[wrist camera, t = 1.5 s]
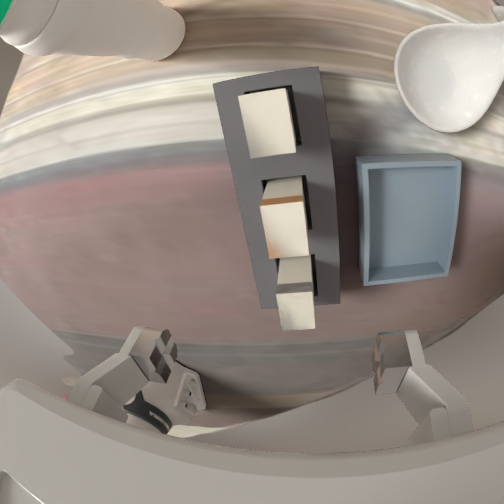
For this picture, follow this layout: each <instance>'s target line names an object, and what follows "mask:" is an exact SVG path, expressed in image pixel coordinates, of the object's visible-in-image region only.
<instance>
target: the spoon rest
mask: <svg viewBox="0 0 504 504" xmlns="http://www.w3.org/2000/svg"><path fill="white" fill-rule="evenodd" d="M492 10H493V12H494V14H495V16H496V18H497V19H498V21H499V22H496V23H491V24H472V23H440V24H432V25H428V26H424V27H421V28H418V29H416V30H414V31H412V32H411V33H409V34H408V35H407V36H406V37H405V38H404V39H403V40H402V41H401V43H400V44H399V46H398V49H397V51H396V54H395V58H394V78H395V82H396V86H397V89H398V91H399V93H400V96H401V98H402V99H403V101H404V103H405V104H406V106H407V107H408V109H409V110H410V111H411V113H412V114H413V115H414V116H415V117H416V118H417V119H418V120H419V121H421V122H422V123H423V124H425V125H426V126H428V127H430V128H431V129H433V130H436V131H439V132H444V133H454V132H459V131H462V130H465V129H467V128H469V127H471V126H472V125H474V124H475V123H476V122H477V121H478V120H479V119H480V118H481V117H482V116H483V115H484V113H485V112H486V111H487V109H488V108H489V106H490V105H491V103H492V101H493V99H494V98H495V96H496V94H497V92H498V90H499V88H500V86H501V84H502V82H503V81H504V6H493V7H492Z"/></svg>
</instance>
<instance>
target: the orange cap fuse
mask: <svg viewBox="0 0 504 504" xmlns="http://www.w3.org/2000/svg"><path fill="white" fill-rule="evenodd" d="M260 210H261V216H262V221H263V226H264V232H265V237H266V242H267V248H268V253H269V259H274V258H285V257H297V256H308V255H309V245H308V228H307V214H306V205H305V197H304V190H303V182H302V175H300V176H291V177H282V178H274V179H268V182H267V185H266V188H265V191H264V194H263V198H262V201H261V204H260Z"/></svg>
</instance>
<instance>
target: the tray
mask: <svg viewBox="0 0 504 504" xmlns="http://www.w3.org/2000/svg"><path fill="white" fill-rule="evenodd" d="M355 161H356V174H357V189H358V211H359V272H360V275H361V279H362V282H363V286H369V285H379V284H388V283H396V282H405V281H413V280H421V279H429V278H437V277H444V276H448V273H449V268H450V263H451V258H452V253H453V247H454V240H455V234H456V226H457V218H458V209H459V199H460V185H461V161H460V160H459V159H457V158H455V157H453V156H451V155H449V154H395V155H373V156H357V157H355Z"/></svg>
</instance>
